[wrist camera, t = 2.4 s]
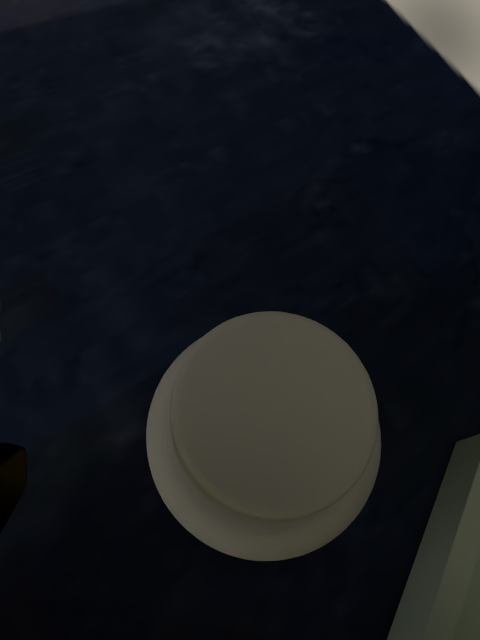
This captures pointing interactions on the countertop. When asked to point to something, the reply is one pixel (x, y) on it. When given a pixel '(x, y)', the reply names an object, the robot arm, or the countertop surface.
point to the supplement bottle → (265, 436)
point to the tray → (447, 559)
